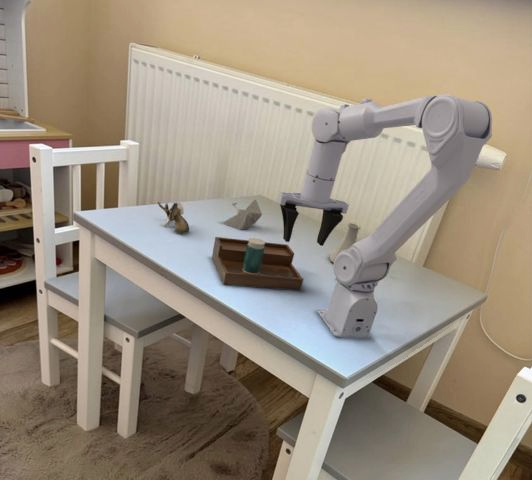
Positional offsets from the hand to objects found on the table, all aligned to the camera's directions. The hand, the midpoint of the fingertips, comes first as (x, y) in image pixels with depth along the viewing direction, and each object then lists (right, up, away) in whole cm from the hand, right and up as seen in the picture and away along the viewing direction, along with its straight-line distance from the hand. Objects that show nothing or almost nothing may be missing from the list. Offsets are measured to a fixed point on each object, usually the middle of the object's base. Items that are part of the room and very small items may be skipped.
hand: (303, 242), depth 106 cm
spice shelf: (-10, -6, +7) cm, 13 cm away
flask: (+12, 0, +26) cm, 28 cm away
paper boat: (-14, +12, +34) cm, 39 cm away
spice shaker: (-11, -5, +3) cm, 13 cm away
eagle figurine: (-31, +8, +21) cm, 38 cm away
